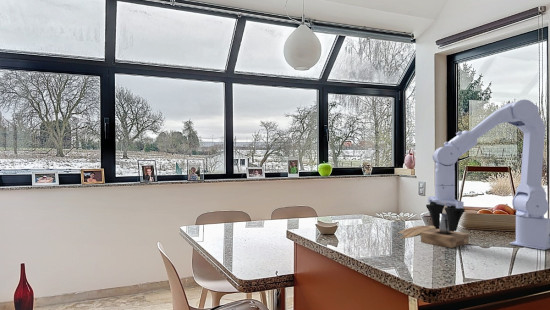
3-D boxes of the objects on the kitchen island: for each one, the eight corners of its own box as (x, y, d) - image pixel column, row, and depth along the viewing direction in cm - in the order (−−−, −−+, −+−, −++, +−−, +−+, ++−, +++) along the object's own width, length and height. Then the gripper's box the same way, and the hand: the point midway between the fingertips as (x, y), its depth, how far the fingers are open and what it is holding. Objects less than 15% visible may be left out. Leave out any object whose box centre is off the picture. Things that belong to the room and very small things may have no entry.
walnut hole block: (468, 243, 124) (468, 233, 124) (450, 247, 118) (450, 237, 118) (438, 238, 132) (439, 228, 132) (420, 241, 126) (420, 232, 126)
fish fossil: (416, 241, 129) (415, 237, 129) (386, 239, 135) (385, 236, 135) (439, 228, 149) (439, 225, 149) (412, 227, 155) (412, 224, 155)
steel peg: (451, 242, 125) (451, 214, 125) (446, 244, 123) (446, 214, 123) (442, 241, 127) (442, 212, 127) (437, 242, 125) (437, 213, 125)
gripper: (419, 183, 131) (419, 225, 131) (449, 187, 117) (448, 233, 117) (438, 183, 133) (438, 224, 133) (469, 186, 119) (469, 232, 119)
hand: (444, 228), depth 125 cm, fingers open, 7 cm apart
